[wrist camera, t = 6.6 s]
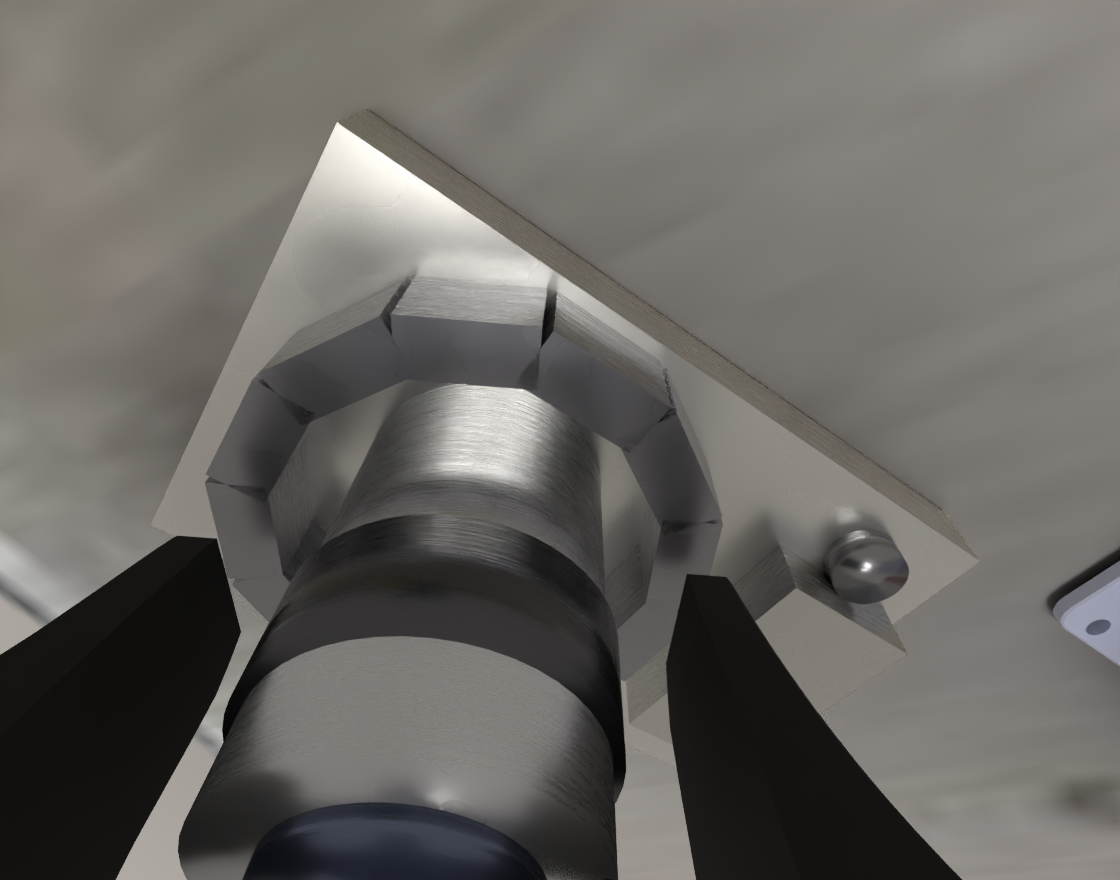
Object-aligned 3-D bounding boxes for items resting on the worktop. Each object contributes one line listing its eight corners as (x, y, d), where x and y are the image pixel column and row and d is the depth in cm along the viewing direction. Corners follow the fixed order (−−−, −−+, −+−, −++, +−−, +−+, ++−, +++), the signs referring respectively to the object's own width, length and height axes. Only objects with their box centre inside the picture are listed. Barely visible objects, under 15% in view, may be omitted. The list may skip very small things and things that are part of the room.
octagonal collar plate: (944, 511, 15) (1024, 622, 12) (679, 718, 19) (694, 835, 16) (367, 109, 11) (295, 139, 8) (189, 479, 15) (102, 581, 12)
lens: (588, 589, 14) (594, 1027, 8) (362, 563, 14) (189, 992, 8) (629, 392, 12) (684, 804, 6) (356, 357, 11) (96, 744, 5)
